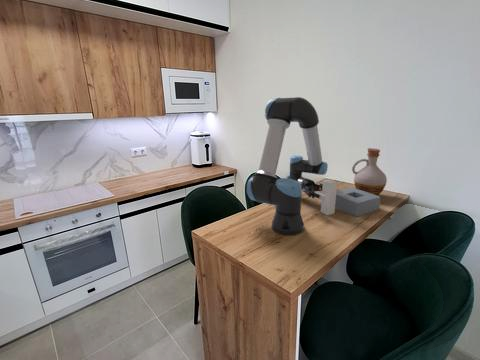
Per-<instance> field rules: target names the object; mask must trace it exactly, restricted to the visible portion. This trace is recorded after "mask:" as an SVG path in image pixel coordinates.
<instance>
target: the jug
mask: <svg viewBox="0 0 480 360" xmlns="http://www.w3.org/2000/svg"><path fill="white" fill-rule="evenodd" d="M380 152H381V149H380V148H373V147H372V148H371V147H368V148H367V153H366V155H367V158H361V159H359V160H357V161H356V162H355V163H353V164H352V168H351V171H352V173H353V174H354V179H353V183H354V186H355V187H354V188H356V189H359V190H362V191H365V192H368V193H371V194H374V195H377V196H379V195H380V194H381V193H382V192H383V191H384V189H385V187H386V185H387V183H388V182H387V181H388V179H387V176H386V174H385V173H384V171H383V170H381V169H380V168H379V166H378V165H377V162H378V159H379V157H380ZM361 162H366V165H365V166H364V167H362V168H361V169H359V170H358V171H356V170H355V168H356V166H357V165H358V164H360V163H361Z"/></svg>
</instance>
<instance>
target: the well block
mask: <svg viewBox="0 0 480 360" xmlns="http://www.w3.org/2000/svg"><path fill="white" fill-rule="evenodd" d="M342 191H344V194H343V196H340V195H338V194H336V201H335V209H338V210H339V211H342V212H345V213H346V214H349V215H352V216H354V217H359V216H363V215H366V214H368V213H372V212H375V211H378V210H380V204H381V196H379V195H378V196H377V195H374V194H371V193H368V192H365V191H362V190H359V189H356V187H350V188H345V189H342Z"/></svg>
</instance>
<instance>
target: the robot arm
mask: <svg viewBox="0 0 480 360" xmlns="http://www.w3.org/2000/svg"><path fill="white" fill-rule="evenodd" d="M264 117H265V119H266V121H267V122H266V123H267V124H268V129H267V130H268V131H267V132H266V133H267V134H266V139H265V143H264V147H263V151H262V155H261V158H260V164H259V167H258V170H257V171H255V173H254V174H253V175H254V176H252V177H250V178H248V180H247V184H246V194H247V196H248V198H249V199H250V200H251V201H255V202H256V203H261V204H262V203H263V204H267V205H272V206H274V207H275V212H274V216H273V218H272V221H271V229H272V230H273V231H274V232H275V233H277V234H280V235H285V236H295V235H299V234H300V233H302V232H303V231H304V228H305V224H304V221H303V217H302V213H301V210H302V194H303V193H304V194H306V196H307V197H309V198H311V199H315V198H317V199H318V200H323V201H325V195H323V194H322V193H320V192H322V186H323V183H321V182H320V183H319V184H318V183H317V184H316V183H315V181H314V180H312V179H310V178H307V177H303V173H305V174H313V175H319V176H321V175H322V176H324V175H326V174H327V172H328V167H329V166H328V163H327V162H325V161H323V157H322V149H321V143H320V135H319V129H318V124H319V123H320V121H319V115H318V112H317V111H316V109H315V107H314V105H313V104H312V103H311V102H310V101H308V99H306V98H303V97H300V96H299V97H297V96H295V97H277V98H271V99H270V100H269V101H268V102H267V104H266V107H265V109H264ZM291 123H298V126H299V128H300V129H301V131H302V135H303V141H304V145H305V146H304V147H305V150H306V155H307V159H304V157H303V156H302V155H295V154H294V155H292V156H290V159H289V160H290V161H289V173H287V175H286V177H285V178H284V177H283V178H282V177H281V178H278V176H277V175H276V174H277V170H278V166H279V165H278V164H279V160H280V156H281V152H282V147H283V145H284V144H283V143H284V140H285V135H286V130H287V129H289V128H290V126H291ZM342 190H343V189H342ZM342 190H341V189H340V188H337V190H336V194H338V195H340V196H343V194H344V191H342Z"/></svg>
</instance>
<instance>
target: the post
mask: <svg viewBox="0 0 480 360" xmlns="http://www.w3.org/2000/svg"><path fill="white" fill-rule="evenodd" d="M322 184H323V186H322V191H321V194H323V195H325V201H323V200H321V199H320V200H321V201H320V213H322V214H324V215H326V216H330V215H333V214H335V212H336V207H335V201H336V190H337V189H338V180H334V179H331V178H329V179H324V180H322Z"/></svg>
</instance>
